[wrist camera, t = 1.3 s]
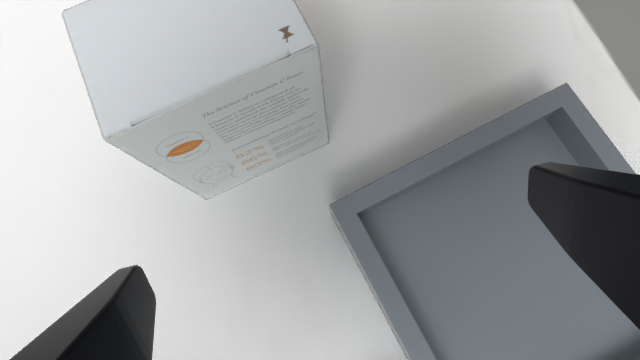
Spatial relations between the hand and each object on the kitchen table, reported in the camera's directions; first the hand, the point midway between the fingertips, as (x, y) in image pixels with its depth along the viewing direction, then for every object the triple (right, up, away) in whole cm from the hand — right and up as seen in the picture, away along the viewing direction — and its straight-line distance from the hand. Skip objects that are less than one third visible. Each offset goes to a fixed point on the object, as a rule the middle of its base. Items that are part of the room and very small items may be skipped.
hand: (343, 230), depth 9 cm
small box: (-5, +4, +15) cm, 16 cm away
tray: (+10, -4, +12) cm, 16 cm away
